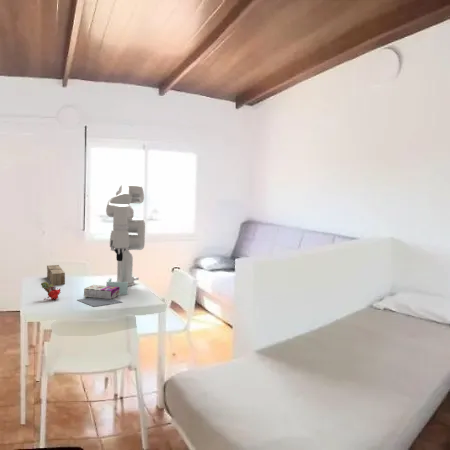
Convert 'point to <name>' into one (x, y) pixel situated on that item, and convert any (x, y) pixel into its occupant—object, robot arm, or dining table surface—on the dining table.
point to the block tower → (55, 274)
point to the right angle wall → (121, 285)
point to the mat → (98, 301)
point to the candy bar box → (101, 291)
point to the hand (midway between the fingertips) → (119, 260)
